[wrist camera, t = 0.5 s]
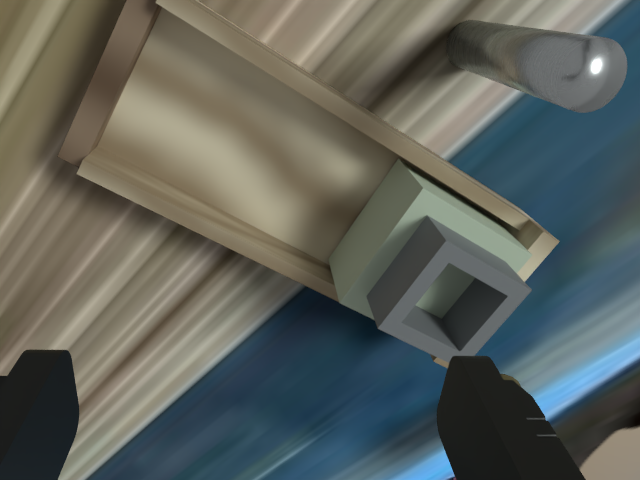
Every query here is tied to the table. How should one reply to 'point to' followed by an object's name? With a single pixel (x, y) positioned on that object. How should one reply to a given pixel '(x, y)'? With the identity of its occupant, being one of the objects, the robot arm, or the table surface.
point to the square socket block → (429, 266)
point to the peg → (542, 62)
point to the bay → (248, 143)
